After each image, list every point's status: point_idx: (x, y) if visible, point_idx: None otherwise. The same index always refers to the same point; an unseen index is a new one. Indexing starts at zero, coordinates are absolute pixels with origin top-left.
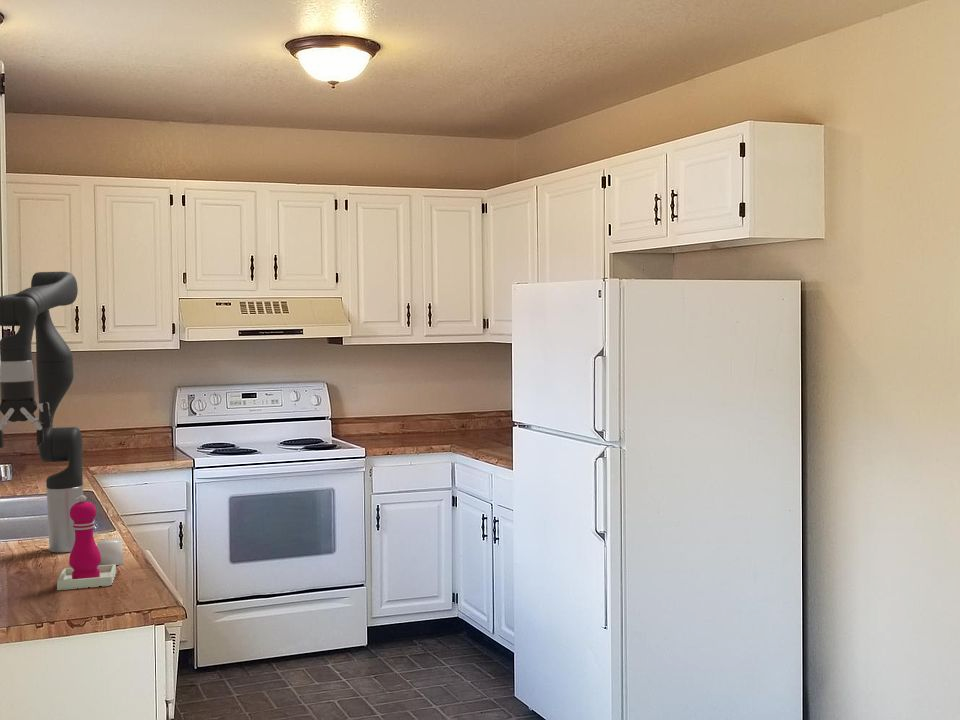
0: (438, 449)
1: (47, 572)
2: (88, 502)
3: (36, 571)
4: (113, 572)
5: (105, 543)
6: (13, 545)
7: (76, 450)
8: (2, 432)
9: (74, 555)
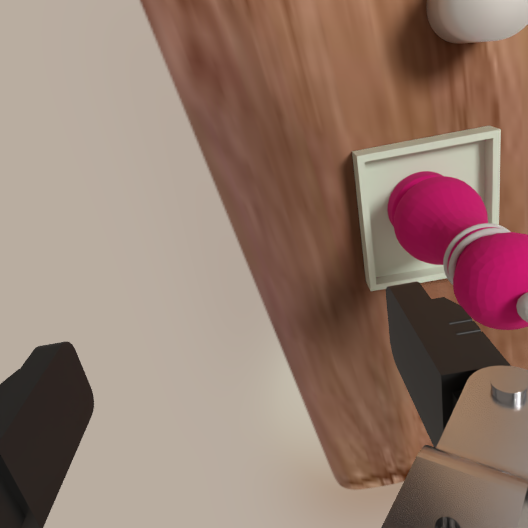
0: None
1: (287, 81)
2: None
3: (248, 61)
4: (497, 211)
5: (488, 40)
6: None
7: None
8: (17, 473)
9: (421, 260)
